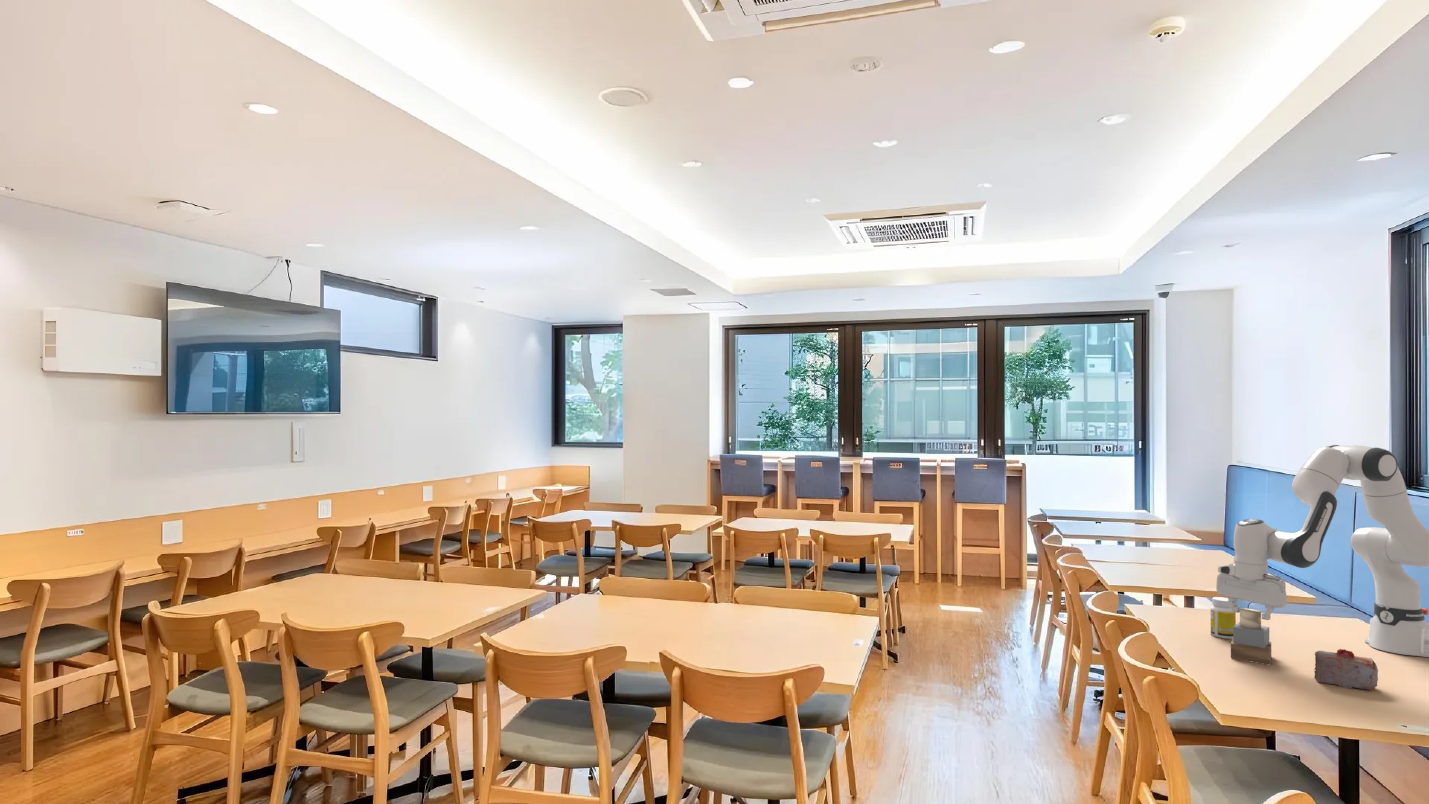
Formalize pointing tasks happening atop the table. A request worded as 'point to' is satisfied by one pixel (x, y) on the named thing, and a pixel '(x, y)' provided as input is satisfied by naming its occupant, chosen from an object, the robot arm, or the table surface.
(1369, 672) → the food item
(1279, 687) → the table surface
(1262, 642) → the slate grey top block
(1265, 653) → the walnut base block
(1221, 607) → the supplement bottle
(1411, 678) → the table surface
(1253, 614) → the beige block
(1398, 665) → the table surface
